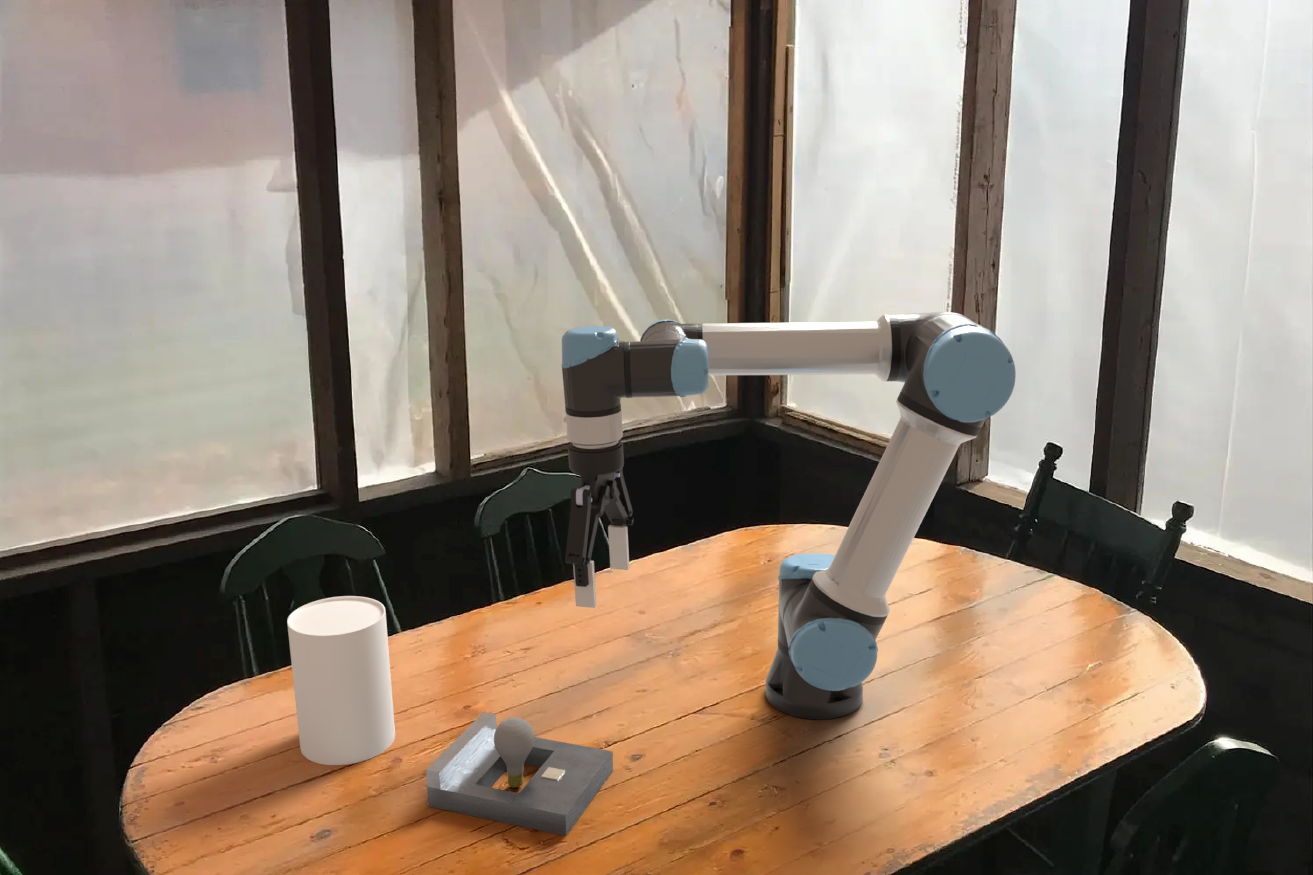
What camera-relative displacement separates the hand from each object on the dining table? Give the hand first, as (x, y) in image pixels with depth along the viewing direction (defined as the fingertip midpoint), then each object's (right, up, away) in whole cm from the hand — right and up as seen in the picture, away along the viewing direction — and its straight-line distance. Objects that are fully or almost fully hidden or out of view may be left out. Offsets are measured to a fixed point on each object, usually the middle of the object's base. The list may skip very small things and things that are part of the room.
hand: (603, 586), depth 161 cm
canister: (-38, -24, +8) cm, 45 cm away
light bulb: (-12, -27, -5) cm, 30 cm away
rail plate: (-11, -27, -5) cm, 29 cm away
